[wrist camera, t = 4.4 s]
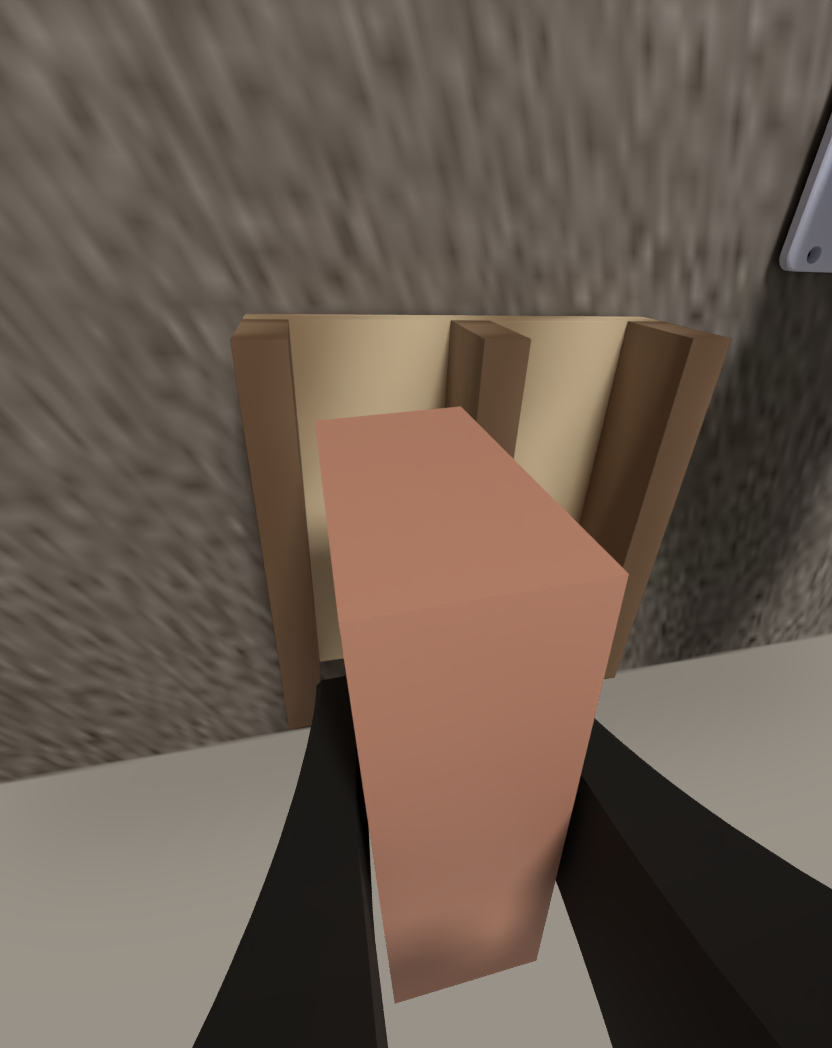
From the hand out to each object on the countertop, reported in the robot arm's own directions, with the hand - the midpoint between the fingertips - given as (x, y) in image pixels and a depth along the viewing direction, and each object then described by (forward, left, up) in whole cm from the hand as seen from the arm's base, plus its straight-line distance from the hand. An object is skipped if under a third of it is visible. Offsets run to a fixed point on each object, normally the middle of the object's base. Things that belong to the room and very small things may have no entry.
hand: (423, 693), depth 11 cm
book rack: (-3, 0, -9) cm, 9 cm away
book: (0, 0, -2) cm, 3 cm away
